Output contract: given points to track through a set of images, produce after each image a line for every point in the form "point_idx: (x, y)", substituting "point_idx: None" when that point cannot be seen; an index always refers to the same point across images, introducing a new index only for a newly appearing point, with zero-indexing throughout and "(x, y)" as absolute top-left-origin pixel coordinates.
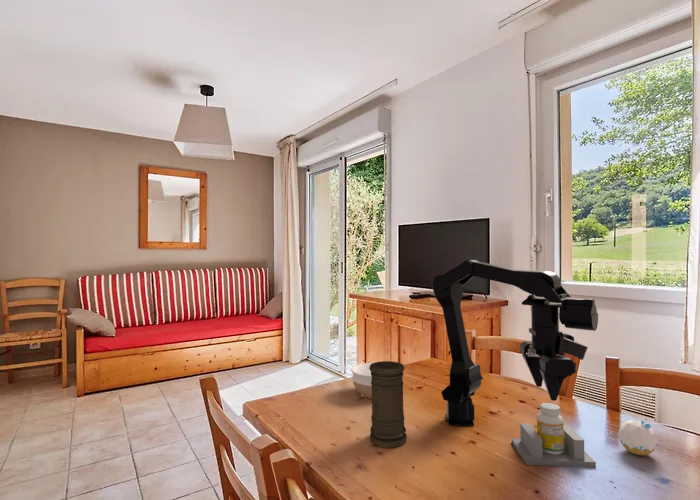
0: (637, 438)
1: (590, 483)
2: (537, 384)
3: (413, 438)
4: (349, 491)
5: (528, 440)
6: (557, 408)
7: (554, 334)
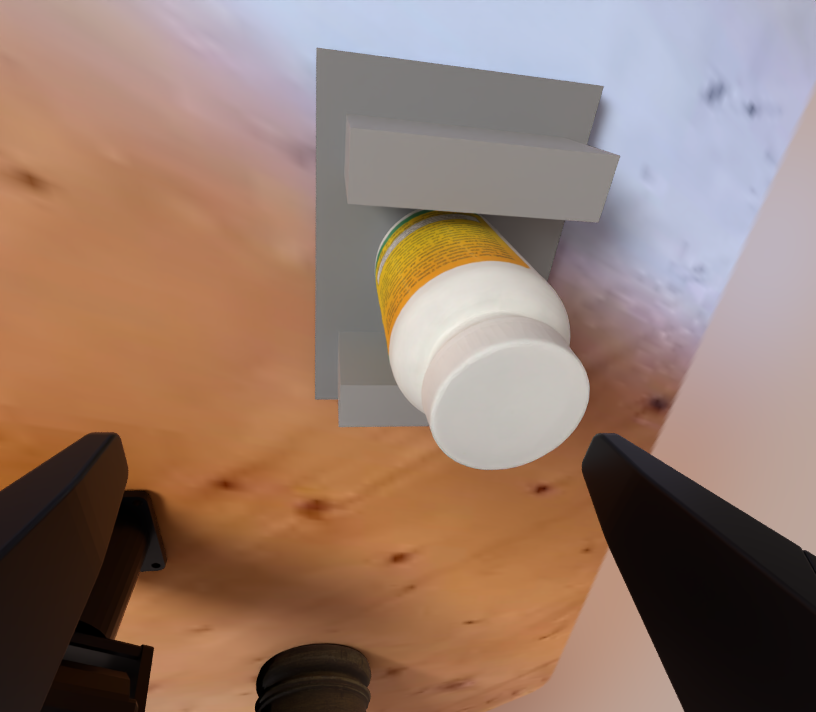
0: None
1: (689, 207)
2: (120, 494)
3: (302, 631)
4: (540, 681)
5: None
6: (580, 377)
7: None
